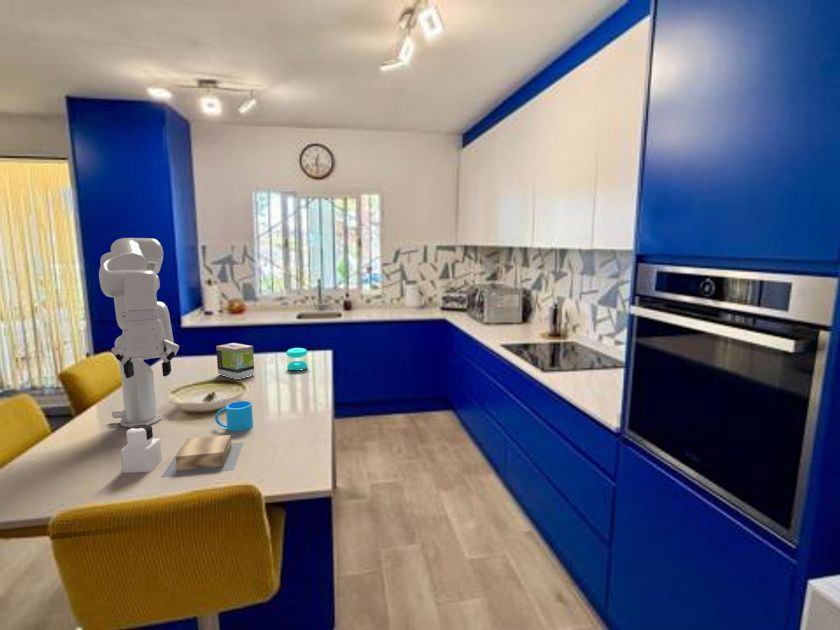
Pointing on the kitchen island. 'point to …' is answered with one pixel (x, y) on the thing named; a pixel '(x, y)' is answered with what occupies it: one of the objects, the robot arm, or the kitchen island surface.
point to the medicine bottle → (140, 450)
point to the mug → (237, 416)
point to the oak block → (204, 452)
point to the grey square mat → (227, 466)
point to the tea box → (235, 360)
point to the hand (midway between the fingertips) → (148, 376)
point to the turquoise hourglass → (296, 354)
